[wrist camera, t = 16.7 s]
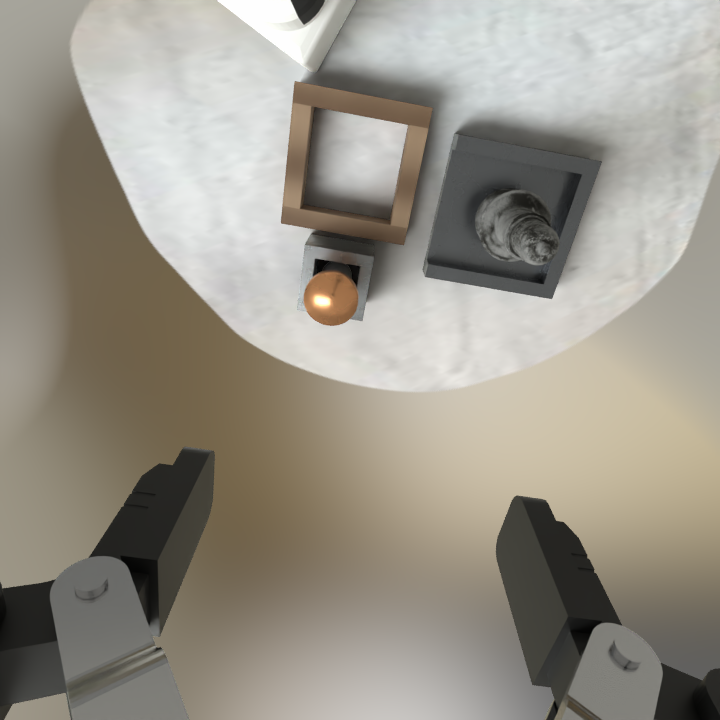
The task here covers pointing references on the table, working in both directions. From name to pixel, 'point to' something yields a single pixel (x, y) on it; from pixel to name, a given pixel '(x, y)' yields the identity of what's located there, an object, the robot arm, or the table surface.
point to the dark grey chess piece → (516, 227)
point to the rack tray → (481, 178)
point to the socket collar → (298, 159)
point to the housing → (340, 253)
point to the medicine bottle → (295, 25)
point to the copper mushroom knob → (331, 295)
